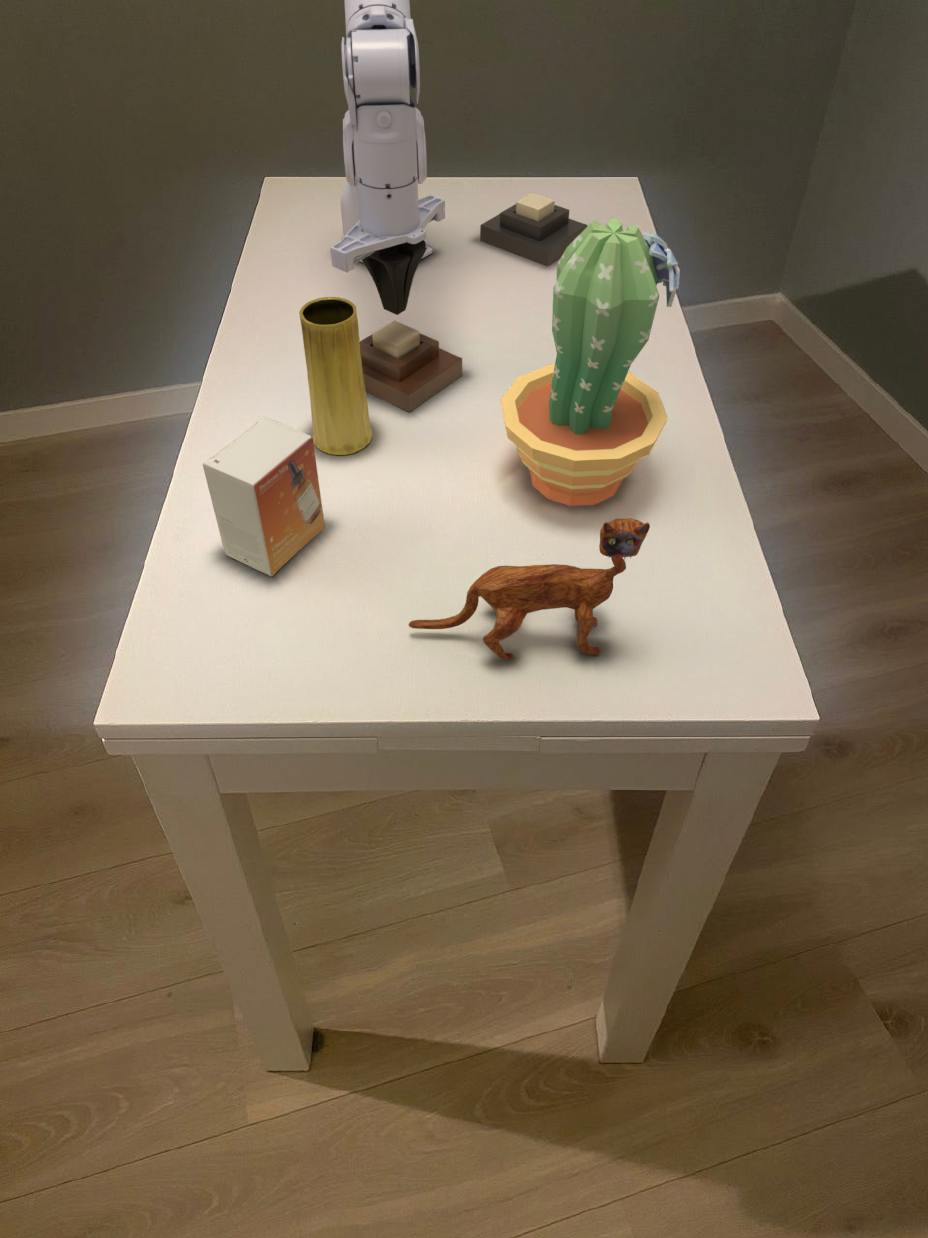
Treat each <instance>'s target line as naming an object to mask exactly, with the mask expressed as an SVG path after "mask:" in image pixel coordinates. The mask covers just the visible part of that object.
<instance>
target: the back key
mask: <svg viewBox="0 0 928 1238" xmlns="http://www.w3.org/2000/svg"><path fill="white" fill-rule="evenodd" d="M515 204H516V214H519V215H521V216H524V217H527V218H530V219H533V220H535V221H538V222H539V221H541V220H542V219H544V218H546V217H547V216H549V215H550V214H552V213H554V205H556V200H555V199H552V198H549V197H547V196H545V195H541V194H538V193H536V192H531V193H529V194H528V195H526V196H524V197H522V198H521V199H519V200H517V201H516V202H515Z"/></svg>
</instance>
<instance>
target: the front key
mask: <svg viewBox="0 0 928 1238" xmlns="http://www.w3.org/2000/svg"><path fill="white" fill-rule="evenodd" d="M420 333H421V332H420V330H418V329H415V328H413V327H411V326H408V325H406V324H404V323H401V322H400V321H397V320H395V319H394V320H392V321H391V322H390V323H388V324H386V325H385V327H384V326H383V327H382V328H379V329H378V330H376V331H375V332H373V333H371V334H372V337H373V347H374V348H376V349H378V350H380V351H382V352H384V353H387V354H389V355H391V356H393V357H395V358H397V359H399V358H400V357H402V356H403V355H405V354H406V353H408V352H410V351H411V350H413V349H414V348H416V347H417V346H419V345H420Z"/></svg>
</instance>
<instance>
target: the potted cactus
mask: <svg viewBox="0 0 928 1238" xmlns="http://www.w3.org/2000/svg"><path fill="white" fill-rule="evenodd" d="M587 225H588V226H587V228H586V229H585V230H584V231H583V232H582V233H581V234H580V235H579V236H578V237H577V238H576V239H575V240H574V241H573V242H572V243H571V244H570V245H569V246H568V247H567V248H566V250H565V252H564V253H563V255H562V257H561V258H559V259H558V262H557V264H556V281H555V284H554V286H553V287H552V289H553V290H552V314H551V315H552V318H551V319H552V321H551V332H552V337H553V342H554V346H555V351H556V357H555V361H554V363H550V364H547V365H545V366H542V367H539V368H537V369H534V370H532V371H530V372H527V373H525V374H522V375H520V376H517V377H516V379H514V381H513V382H512V384H511V385H510V386H509V388H508V389H507V390H506V391H505V393H504V394H503V395H502V397H501V398H500V404H501V410H502V417H503V421H504V427H505V431H506V437H507V439H509V440H510V441H511V442H512V444H514V445H515V446H516V449H517V452H518V454H519V457H520V459H521V462H522V463H523V464H524V465H525V467H527V469H528V470H529V474H530V479H531V485H532V487H533V488H535V489H536V490H537V491H538V493H540V494H541V495H542V496H544V498H546V499H547V500H549V501H552V502H556V503H559V504H563V505H566V506H568V507H579V506H595V505H597V504H599V503H601V502H603V501H606V500H607V499H610V498H613V497H614V495H616V492H617V491H618V488H619V487H620V485H621V483H622V480H623V479H625V478H626V477H627V476H629V475H630V474H631V473H632V471H633V469H634V468H635V467H636V465H637V463H638V462H639V460H640V459H642V458H645V457H647V456H649V455H650V453H651V451H652V450H653V447H654V446H655V444H656V443H657V441H658V439H659V437H660V435H661V433H662V432H663V429H664V427H665V426H666V423H667V421H668V418H669V417H668V415H667V414H668V413H667V411H666V409H665V406H664V403H663V401H662V398H661V396H660V393H659V392H658V391H657V390H655V389H654V388H653V387H652V386H650V385H649V384H647V383H646V382H644V381H643V380H642V379H640V378H639V377H637V376H636V375H634V374H633V373H632V372H630V371H629V370H630V368H631V365H632V364H633V363H634V361H635V360H636V359H637V357H638V356H639V354H640V353H641V351H642V350H643V349H644V347H645V346H646V345H647V343H648V342H649V339H650V336H651V332H652V329H653V323H654V319H655V316H656V312H657V307H658V303H659V300H660V293H659V289H658V287H657V286H658V284H662V286H663V287H665V290H666V292H665V293H666V307H667V308H672V306H673V304H674V299H675V297H676V292H677V290H679V288H680V286H679V285H680V275H681V273H680V272H681V269H680V268H679V266H678V265H679V263H678V261H677V259H676V257H675V255H674V253H673V251H672V249H670V248H669V247H668V244H667V242H665V240H663V239H662V238H661V237H660V236H659V235H658V234H655V233H649V232H642V231H641V230H640V228H639V226H637V225H636V224H634V225H630V226H627V228H626V230H623V224H622V222H621V219H620V218H618V217H611V219H610V220H609V221H608V222H607V223H606V225H603V224H602V223H600V222H597V221H595V220H593V221H591V222H590V223H589V224H587Z"/></svg>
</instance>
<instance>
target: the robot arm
mask: <svg viewBox="0 0 928 1238" xmlns="http://www.w3.org/2000/svg"><path fill="white" fill-rule="evenodd" d="M343 2H344V18H345V37H344V36H342V37H341V43H340V44H341V45H340V48H341V49H340V50H341V52H340V53H341V65H342V79H343V89H344V95H345V99H346V102H347V103H346V104H347V107H348V110H346V111H345V113H344V118H342V147H343V163H344V172H345V180H346V183H345V184H344V187H343V189H342V192H341V197H340V213H341V223H342V224H341V225H342V235H343V237H342V238H341V239H340V240H339V241H337V242H336V243H334V244H333V245H332V246H330V247H329V248H330V257H331V267H333V268H335V269H338V270H340V271H342V272H345V273H349V272H351V271H353V270H354V269H355V267H354V266H355V264H357V263H359V262H361V263H363V265H364V266H365V268H366V269H367V271H368V273H369V274H370V277H371V278H372V281H373V283H374V286H375V288H376V291H377V293H378V295H379V296H378V297H379V299H380V302H381V305H382V308H383V310H385V311H387V312H389V313H392V314H394V315H396V316H397V315H398V316H399V315H400V314H401V313H403V312H405V311H406V310H407V306H408V302H409V298H410V292H411V288H412V284H413V281H414V277H415V274H416V271H417V270H418V267H419V265H420V262H421V261H422V259H425V258H426V257H427V256H429V255H432V254H433V251H434V249H433V248H432V247H429V246H427V242H426V241H425V240H426V239H427V230H426V229H425V228H426V227H427V226H428V224H430V223H432V222H433V221H435V222H441V221H443V220H445V219H446V200H445V199H443V198H441V197H438V196H435V195H433V194H428V195H426V196H424V197H422V198H419V185H423V184H424V182H425V181H426V179H427V177H428V173H427V172H428V167H427V166H428V165H427V164H428V162H427V161H428V159H427V140H426V139H427V138H426V132H425V121H424V116H422V113H421V110H419V109H418V108H417V107H416V105H418V104H419V99H420V94H421V68H420V50H419V49H420V48H419V41H418V37H417V32H416V29H415V25H414V19H413V18H411V5H410V0H344V1H343ZM410 89H412V90H413V91H414V96H415V101H414V99H413V97H412V96H411V90H410Z"/></svg>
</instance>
